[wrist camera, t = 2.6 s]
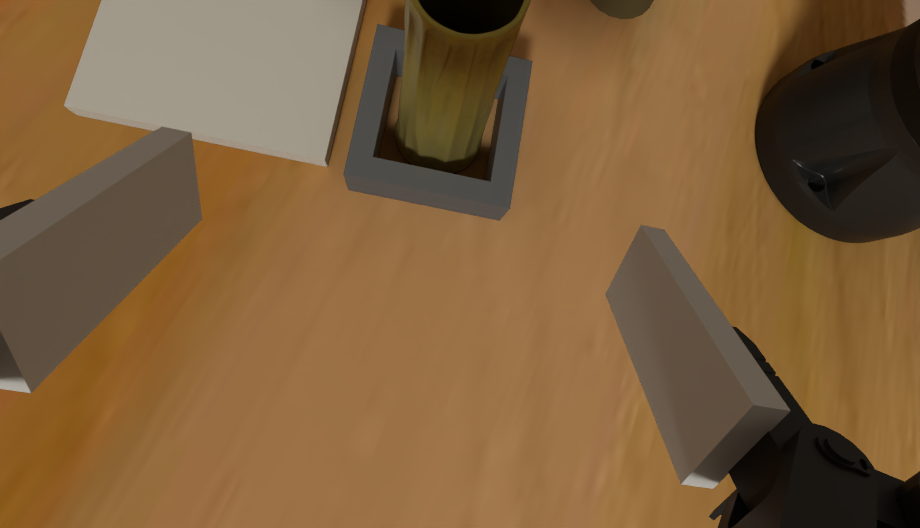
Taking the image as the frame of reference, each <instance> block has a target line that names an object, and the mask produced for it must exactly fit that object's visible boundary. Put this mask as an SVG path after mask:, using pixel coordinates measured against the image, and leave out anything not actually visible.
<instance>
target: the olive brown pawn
mask: <svg viewBox="0 0 920 528" xmlns="http://www.w3.org/2000/svg"><path fill="white" fill-rule="evenodd" d="M591 2H592V3H593V4H594V5H595V6H596V7H597V8H598V9H599V10H600V11H602V12H604V13H606V14H607V15H609V16H612V17H616V18H620V19H629V18H635V17H637V16H639V15H642V14H643V13H644V12H645V11H646V10H647V9H648V8H649V7H650V6H651V4H652V2H653V0H591Z"/></svg>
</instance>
